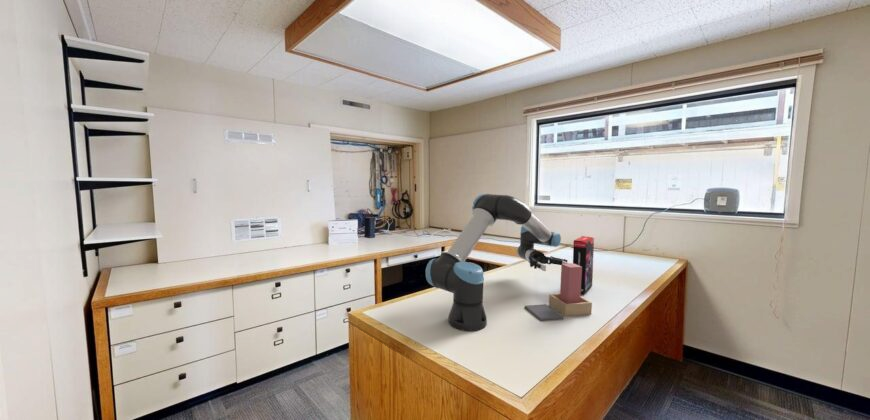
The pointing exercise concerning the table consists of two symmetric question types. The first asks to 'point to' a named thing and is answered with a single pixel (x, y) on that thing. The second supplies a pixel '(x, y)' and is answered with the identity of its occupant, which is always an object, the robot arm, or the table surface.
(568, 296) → the pink rectangular block
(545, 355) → the table surface
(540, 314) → the rubber mat
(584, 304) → the hollow rectangular frame
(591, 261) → the graphics card box
